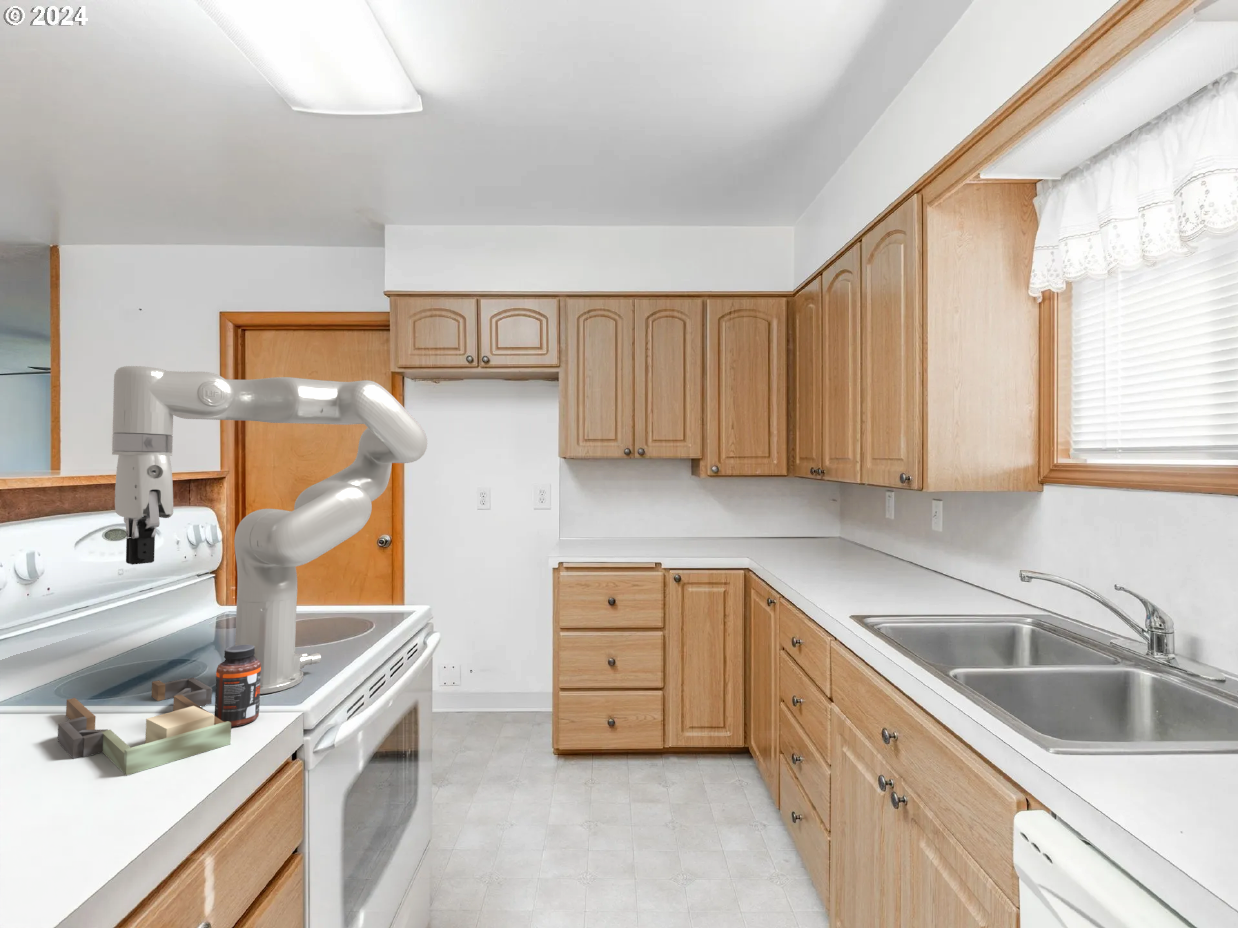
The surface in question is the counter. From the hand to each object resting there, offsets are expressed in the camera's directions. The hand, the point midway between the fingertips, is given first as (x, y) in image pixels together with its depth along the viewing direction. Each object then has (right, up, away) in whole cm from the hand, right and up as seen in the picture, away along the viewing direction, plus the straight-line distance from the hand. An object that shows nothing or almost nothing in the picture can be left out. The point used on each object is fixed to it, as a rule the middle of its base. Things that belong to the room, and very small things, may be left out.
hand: (140, 562), depth 98 cm
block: (+13, -24, -10) cm, 29 cm away
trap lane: (+5, -24, -6) cm, 25 cm away
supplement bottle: (+16, -25, -1) cm, 29 cm away
